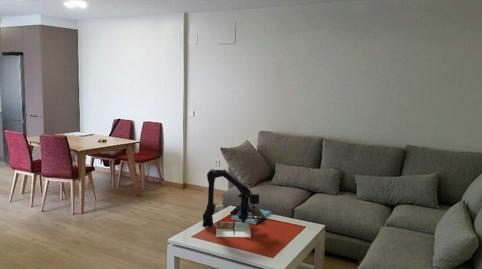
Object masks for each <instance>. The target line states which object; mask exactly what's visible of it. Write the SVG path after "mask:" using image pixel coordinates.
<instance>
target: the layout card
mask: <svg viewBox="0 0 482 269" xmlns="http://www.w3.org/2000/svg"><path fill="white" fill-rule="evenodd" d="M215 238H252V236H251V228H250V226H249V229H242V228H235V229H233V228H219V229H217V227H216V231H215Z"/></svg>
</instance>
